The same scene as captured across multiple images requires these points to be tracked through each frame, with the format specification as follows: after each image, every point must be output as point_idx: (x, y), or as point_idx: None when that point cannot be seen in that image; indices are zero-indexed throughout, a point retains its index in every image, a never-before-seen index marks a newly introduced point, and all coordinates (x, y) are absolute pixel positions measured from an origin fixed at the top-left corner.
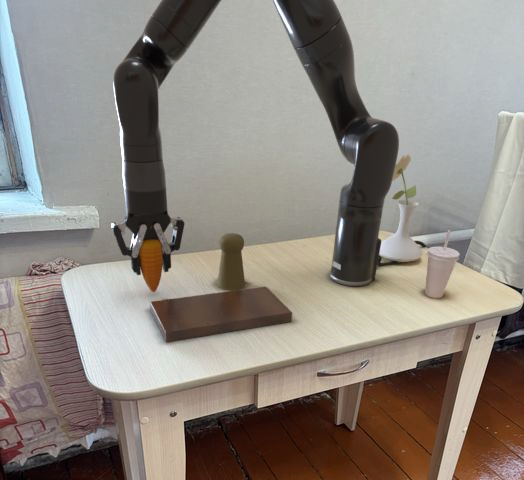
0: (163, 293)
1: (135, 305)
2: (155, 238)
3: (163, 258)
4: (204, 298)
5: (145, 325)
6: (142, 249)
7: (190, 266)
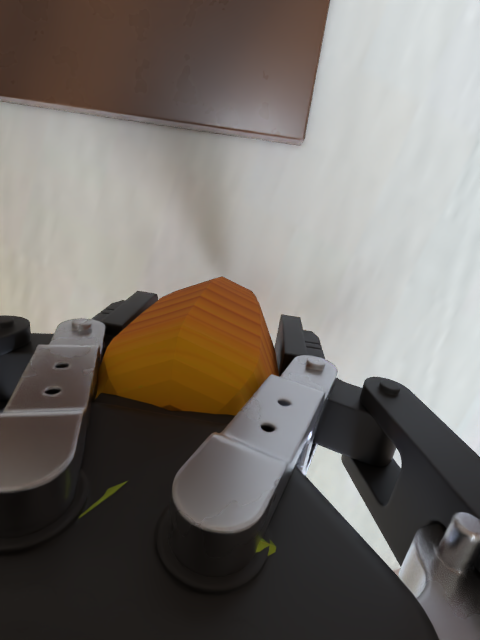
0: (193, 283)
1: (333, 229)
2: (123, 403)
3: None
4: (51, 51)
5: (380, 5)
6: (264, 360)
7: None
